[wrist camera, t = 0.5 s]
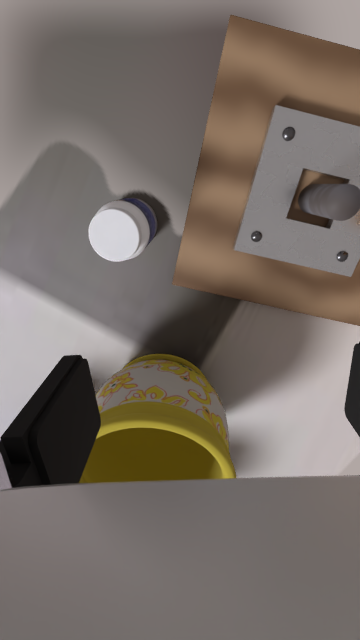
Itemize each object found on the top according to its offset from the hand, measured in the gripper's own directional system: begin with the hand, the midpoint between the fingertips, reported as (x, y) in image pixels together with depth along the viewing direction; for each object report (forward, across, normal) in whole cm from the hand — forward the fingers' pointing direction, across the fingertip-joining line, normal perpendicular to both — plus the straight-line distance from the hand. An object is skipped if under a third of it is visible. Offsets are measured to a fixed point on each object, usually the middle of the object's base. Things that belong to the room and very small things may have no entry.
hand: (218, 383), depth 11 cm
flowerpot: (+29, +7, +21) cm, 37 cm away
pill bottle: (+29, +8, -3) cm, 30 cm away
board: (+29, -13, -4) cm, 32 cm away
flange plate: (+27, -15, -3) cm, 31 cm away
